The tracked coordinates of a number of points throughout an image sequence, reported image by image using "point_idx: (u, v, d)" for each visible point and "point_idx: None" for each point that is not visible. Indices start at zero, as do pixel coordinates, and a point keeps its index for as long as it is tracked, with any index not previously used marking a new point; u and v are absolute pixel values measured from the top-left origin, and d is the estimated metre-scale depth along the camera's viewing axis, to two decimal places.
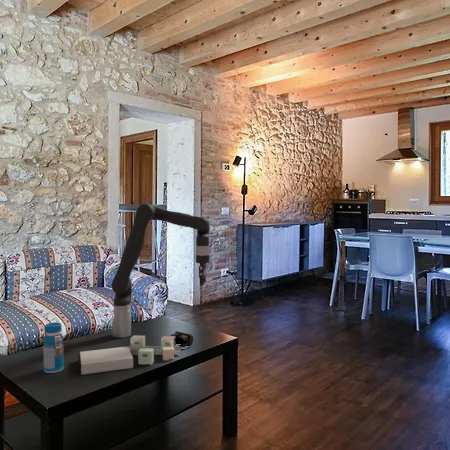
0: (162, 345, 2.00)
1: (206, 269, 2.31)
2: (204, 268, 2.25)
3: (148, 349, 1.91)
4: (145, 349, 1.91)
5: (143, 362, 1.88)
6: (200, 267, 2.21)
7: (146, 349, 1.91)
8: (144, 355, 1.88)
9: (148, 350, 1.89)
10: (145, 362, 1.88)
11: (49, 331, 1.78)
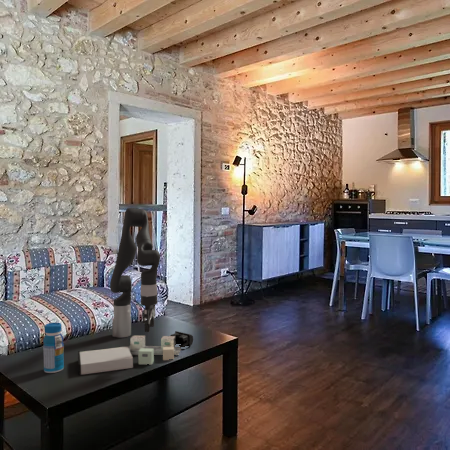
0: (162, 345, 2.00)
1: (154, 311, 1.94)
2: (150, 311, 1.89)
3: (148, 349, 1.91)
4: (145, 349, 1.91)
5: (143, 362, 1.88)
6: (144, 311, 1.84)
7: (146, 349, 1.91)
8: (144, 355, 1.88)
9: (148, 350, 1.89)
10: (145, 362, 1.88)
11: (49, 331, 1.78)
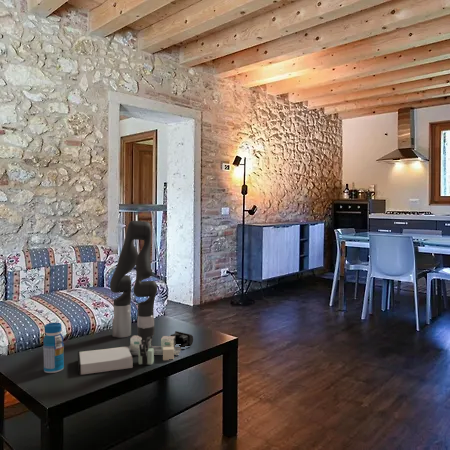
0: (162, 345, 2.00)
1: (151, 343, 1.92)
2: (147, 343, 1.88)
3: None
4: None
5: None
6: (141, 346, 1.83)
7: (146, 348, 1.91)
8: None
9: (148, 350, 1.89)
10: None
11: (49, 331, 1.78)
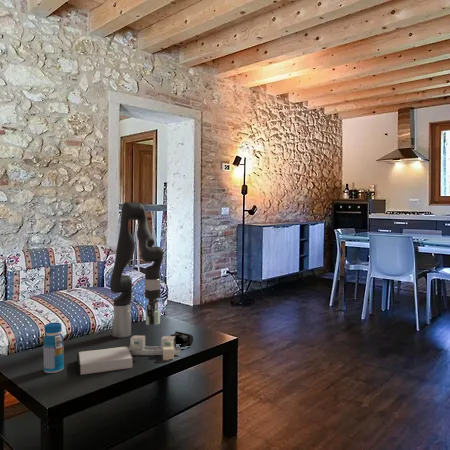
0: (162, 345, 2.00)
1: (157, 306, 2.05)
2: (154, 305, 2.00)
3: (155, 310, 2.03)
4: None
5: None
6: (148, 307, 1.96)
7: None
8: None
9: (155, 311, 2.02)
10: None
11: (49, 331, 1.78)
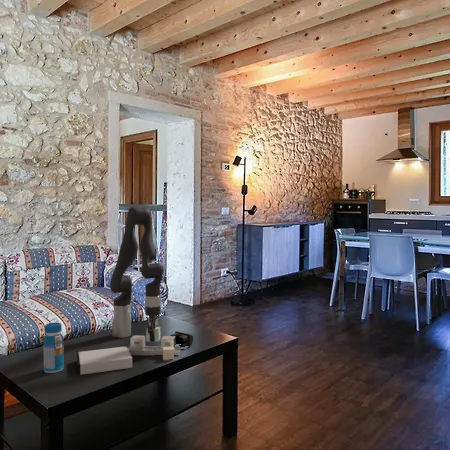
0: (162, 345, 2.00)
1: (157, 322, 2.05)
2: (154, 321, 2.01)
3: None
4: None
5: None
6: (149, 324, 1.96)
7: None
8: None
9: (155, 328, 2.02)
10: None
11: (49, 331, 1.78)
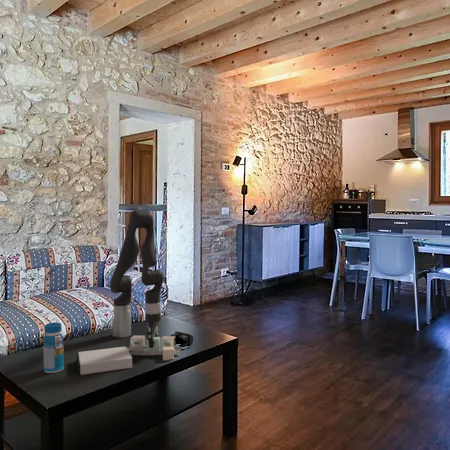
0: (162, 345, 2.00)
1: (157, 328, 2.06)
2: (154, 328, 2.01)
3: (155, 337, 2.04)
4: None
5: (150, 349, 2.02)
6: (148, 329, 1.96)
7: None
8: None
9: (155, 338, 2.02)
10: (152, 349, 2.01)
11: (49, 331, 1.78)
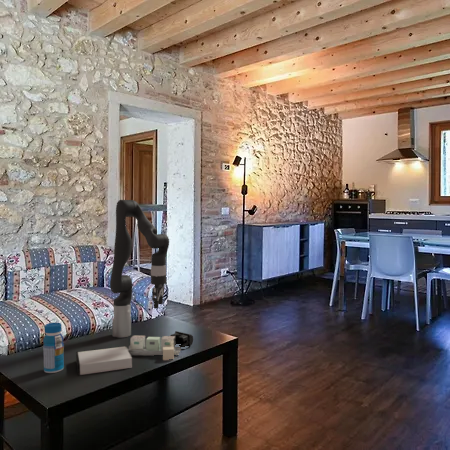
0: (162, 345, 2.00)
1: (163, 290, 2.12)
2: (159, 290, 2.07)
3: (155, 337, 2.04)
4: (153, 337, 2.04)
5: (150, 349, 2.02)
6: (154, 289, 2.02)
7: (153, 337, 2.04)
8: (151, 343, 2.01)
9: (155, 338, 2.02)
10: (152, 349, 2.01)
11: (49, 331, 1.78)
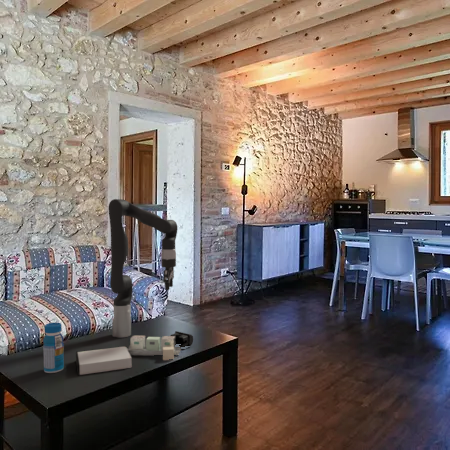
0: (162, 345, 2.00)
1: (173, 273, 2.24)
2: (170, 272, 2.18)
3: (155, 337, 2.04)
4: (153, 337, 2.04)
5: (150, 349, 2.02)
6: (165, 271, 2.14)
7: (153, 337, 2.04)
8: (151, 343, 2.01)
9: (155, 338, 2.02)
10: (152, 349, 2.01)
11: (49, 331, 1.78)
